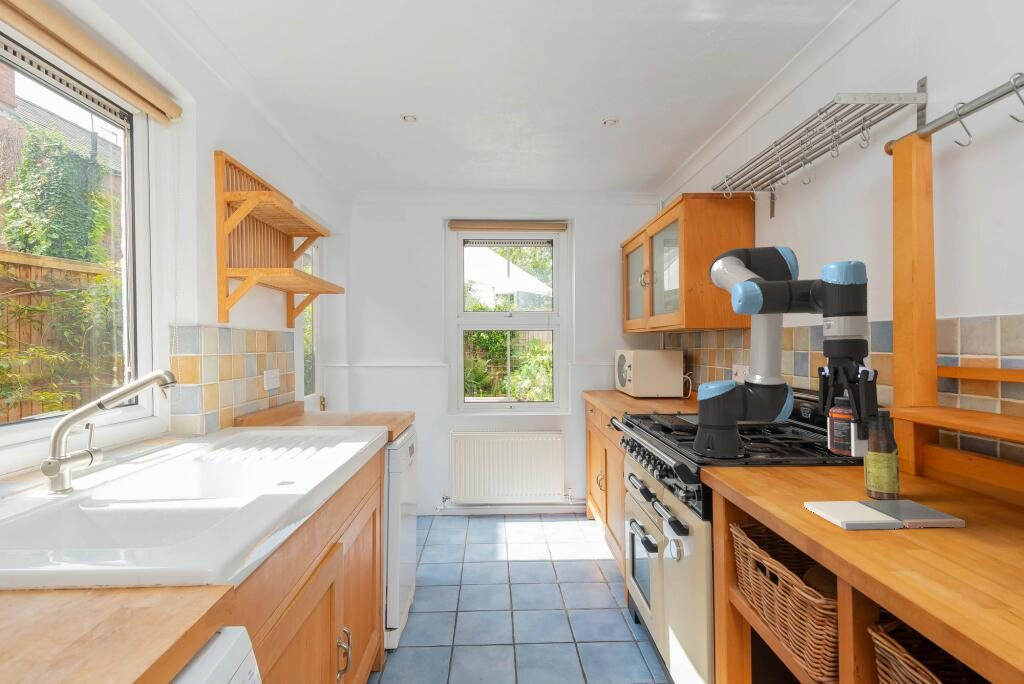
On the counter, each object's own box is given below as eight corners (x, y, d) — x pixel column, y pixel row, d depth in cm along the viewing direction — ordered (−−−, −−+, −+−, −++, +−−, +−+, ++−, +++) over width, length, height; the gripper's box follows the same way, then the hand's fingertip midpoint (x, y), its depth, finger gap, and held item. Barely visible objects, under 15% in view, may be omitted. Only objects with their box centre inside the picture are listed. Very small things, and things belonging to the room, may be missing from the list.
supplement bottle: (868, 458, 91) (866, 400, 91) (831, 455, 94) (830, 398, 94) (863, 452, 96) (862, 396, 96) (828, 449, 99) (827, 395, 99)
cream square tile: (804, 507, 101) (804, 501, 101) (854, 506, 101) (854, 500, 101) (845, 529, 88) (845, 523, 88) (903, 528, 89) (902, 522, 89)
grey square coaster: (859, 506, 101) (859, 500, 101) (909, 505, 101) (909, 499, 101) (908, 528, 89) (908, 522, 89) (965, 527, 89) (965, 520, 89)
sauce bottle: (906, 502, 103) (904, 412, 103) (874, 501, 104) (872, 411, 104) (889, 493, 109) (887, 408, 109) (858, 492, 110) (857, 407, 111)
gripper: (797, 339, 105) (799, 443, 105) (862, 337, 86) (865, 464, 86) (830, 338, 105) (832, 442, 105) (902, 337, 86) (905, 463, 86)
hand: (847, 452), depth 95 cm, fingers closed on supplement bottle, 6 cm apart
